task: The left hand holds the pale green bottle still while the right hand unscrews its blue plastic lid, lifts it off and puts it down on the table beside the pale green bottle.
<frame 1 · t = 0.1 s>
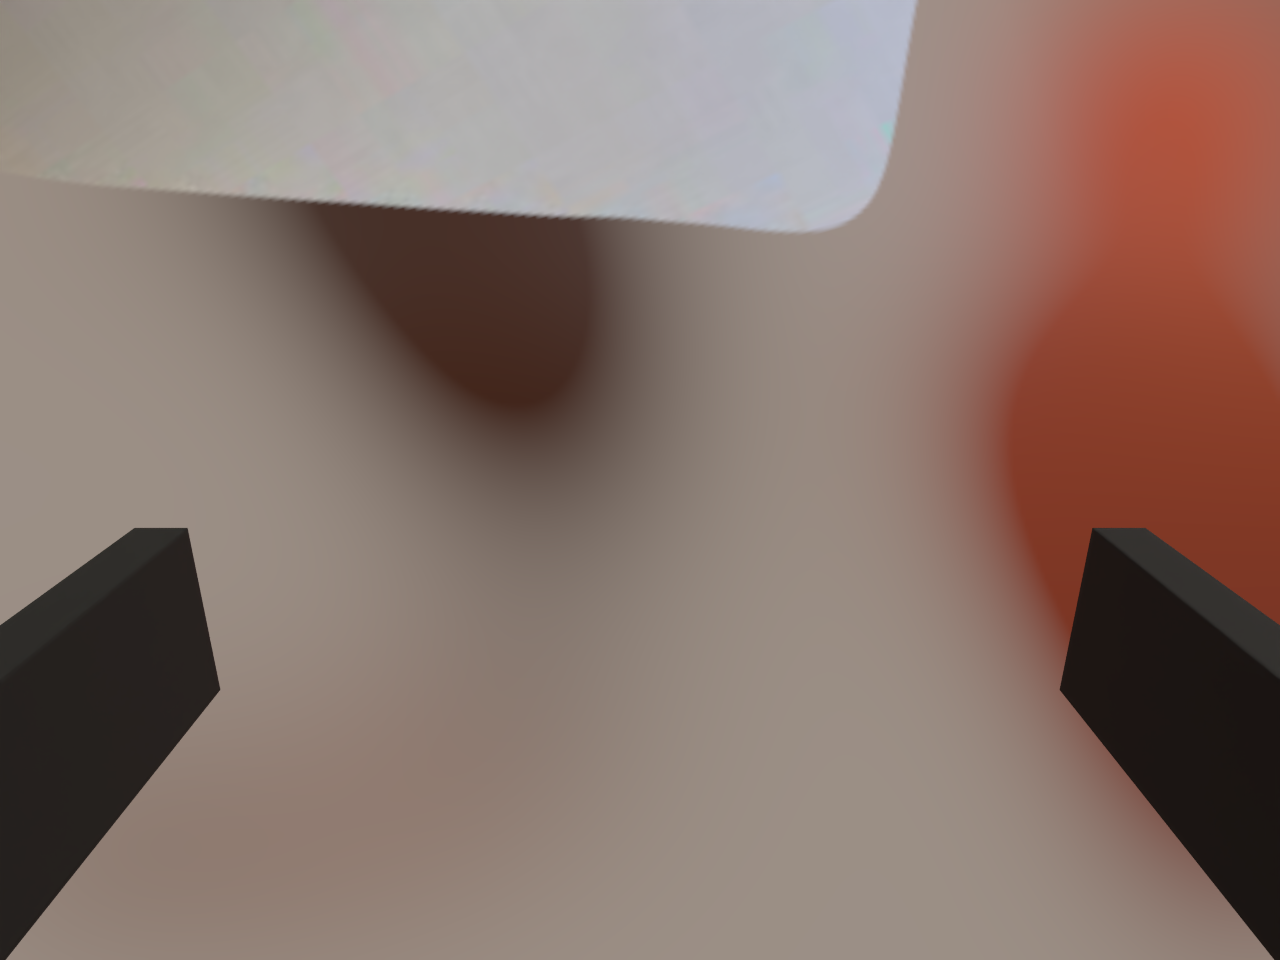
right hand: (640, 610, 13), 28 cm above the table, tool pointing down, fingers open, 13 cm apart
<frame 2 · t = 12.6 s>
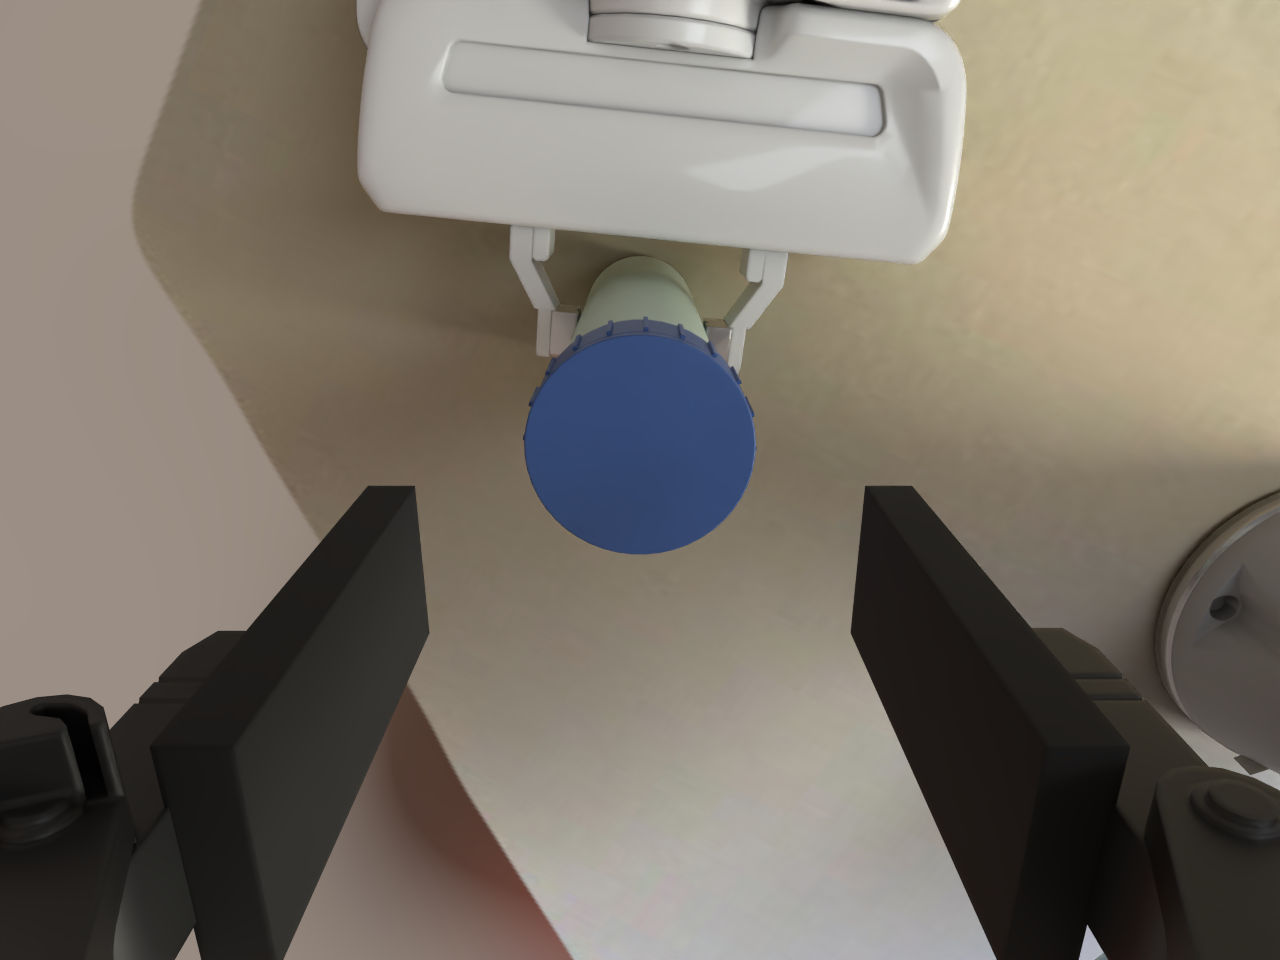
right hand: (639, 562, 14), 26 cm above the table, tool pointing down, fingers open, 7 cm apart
left hand: (638, 363, 32), fingers closed on pale green bottle, 5 cm apart
lid: (640, 445, 20), point 19 cm above the table, screwed on, not yet turned
pale green bottle: (639, 310, 38), on the table, touching left hand
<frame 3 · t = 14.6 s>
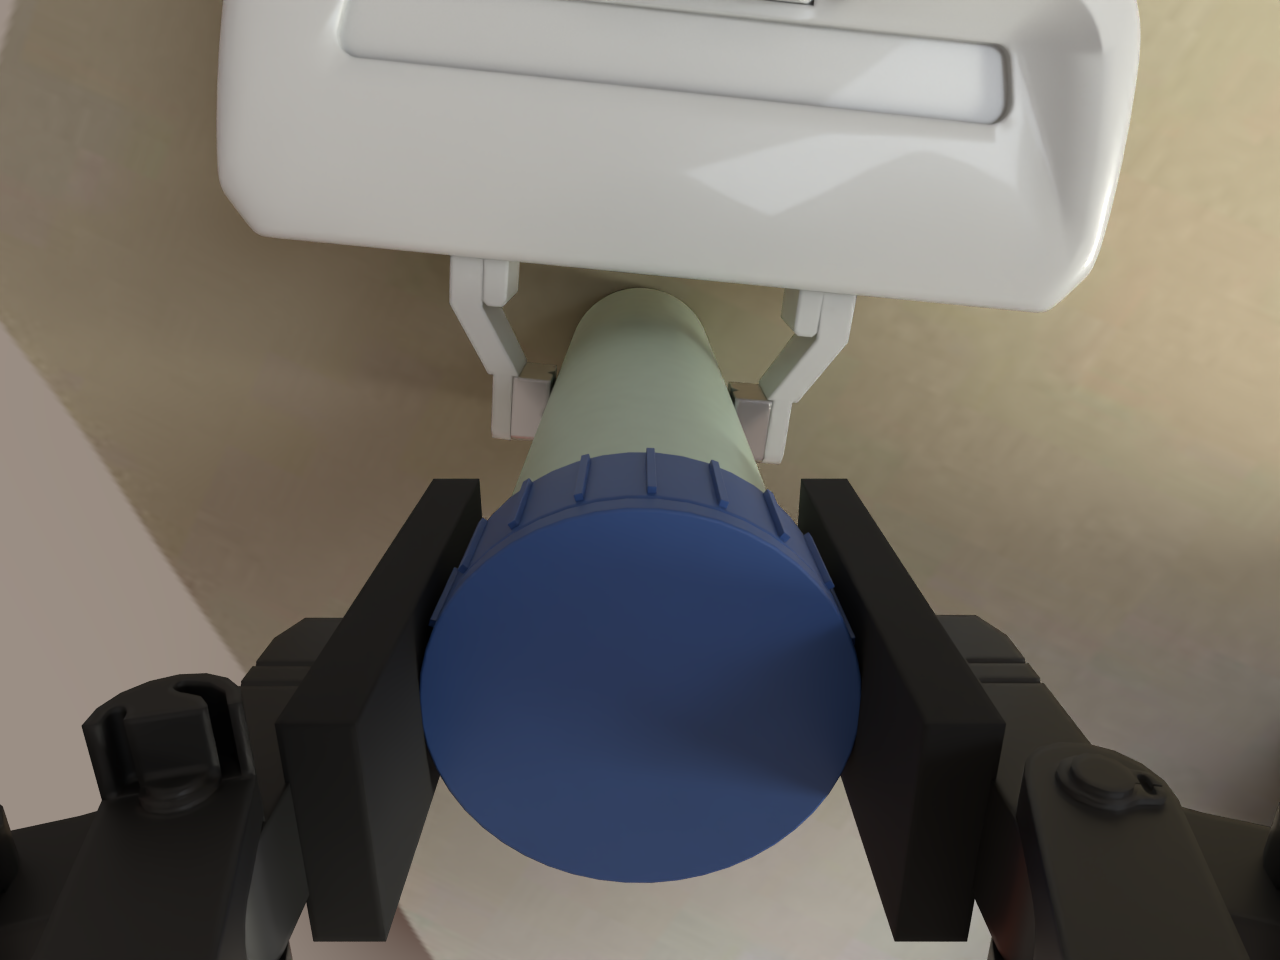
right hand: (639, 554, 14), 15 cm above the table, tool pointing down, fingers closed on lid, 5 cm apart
lid: (640, 696, 11), point 19 cm above the table, screwed on, not yet turned, touching right hand
pale green bottle: (639, 358, 29), on the table, touching left hand
when the right hand's fingers open (16 cm above the table, at t = 16.0 s): lid stays where it is, point 20 cm above the table.
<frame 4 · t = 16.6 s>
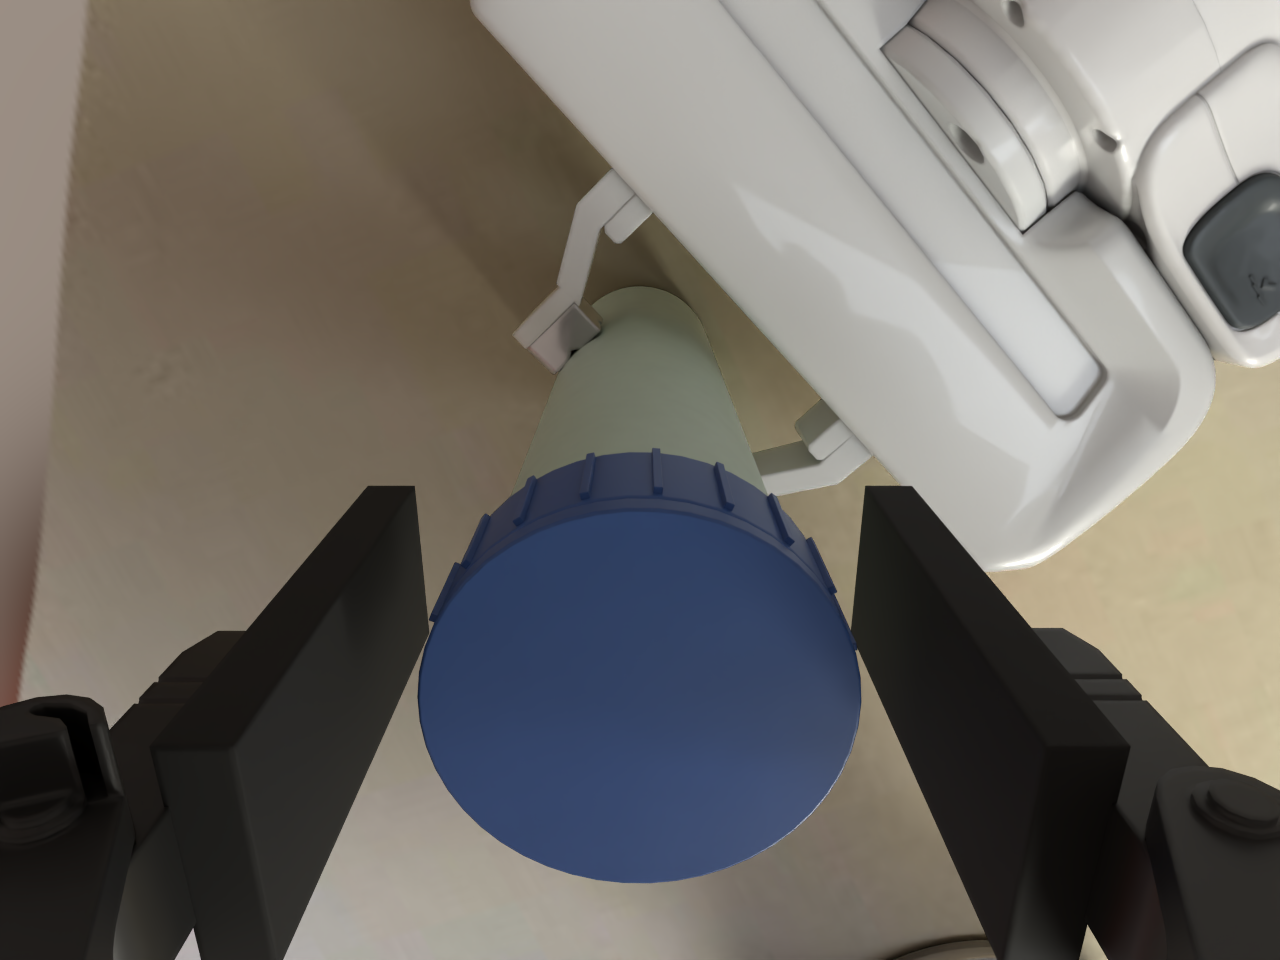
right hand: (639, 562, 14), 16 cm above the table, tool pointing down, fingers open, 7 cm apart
left hand: (616, 433, 23), fingers closed on pale green bottle, 5 cm apart
lid: (639, 696, 11), point 20 cm above the table, turned 93° so far, risen 0.3 cm, still on its thread
pale green bottle: (639, 356, 29), on the table, touching left hand
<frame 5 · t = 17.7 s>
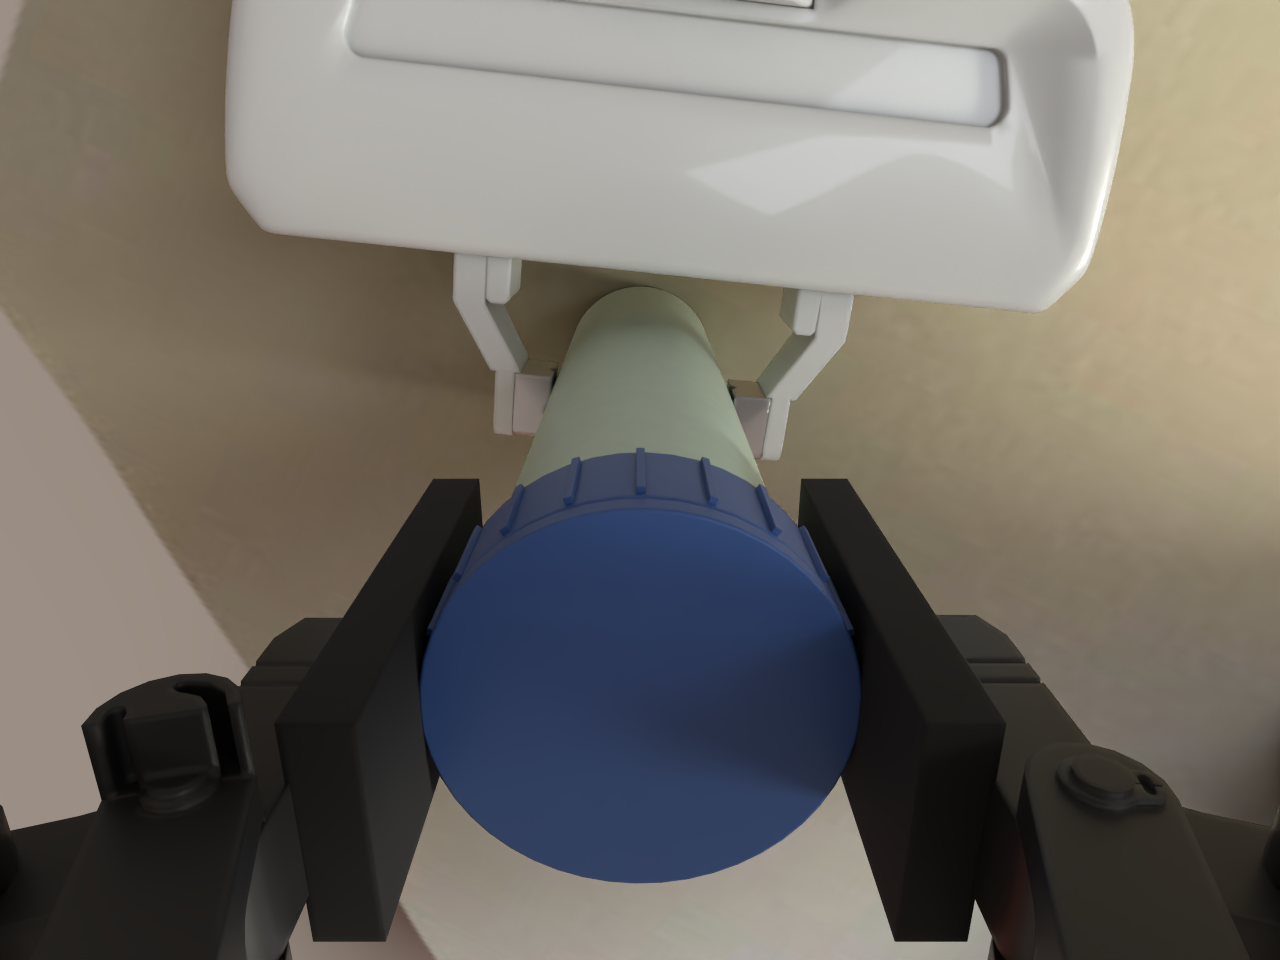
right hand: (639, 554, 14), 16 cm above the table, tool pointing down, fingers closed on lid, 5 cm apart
lid: (640, 696, 11), point 20 cm above the table, turned 93° so far, risen 0.3 cm, still on its thread, touching right hand
pale green bottle: (640, 356, 29), on the table, touching left hand
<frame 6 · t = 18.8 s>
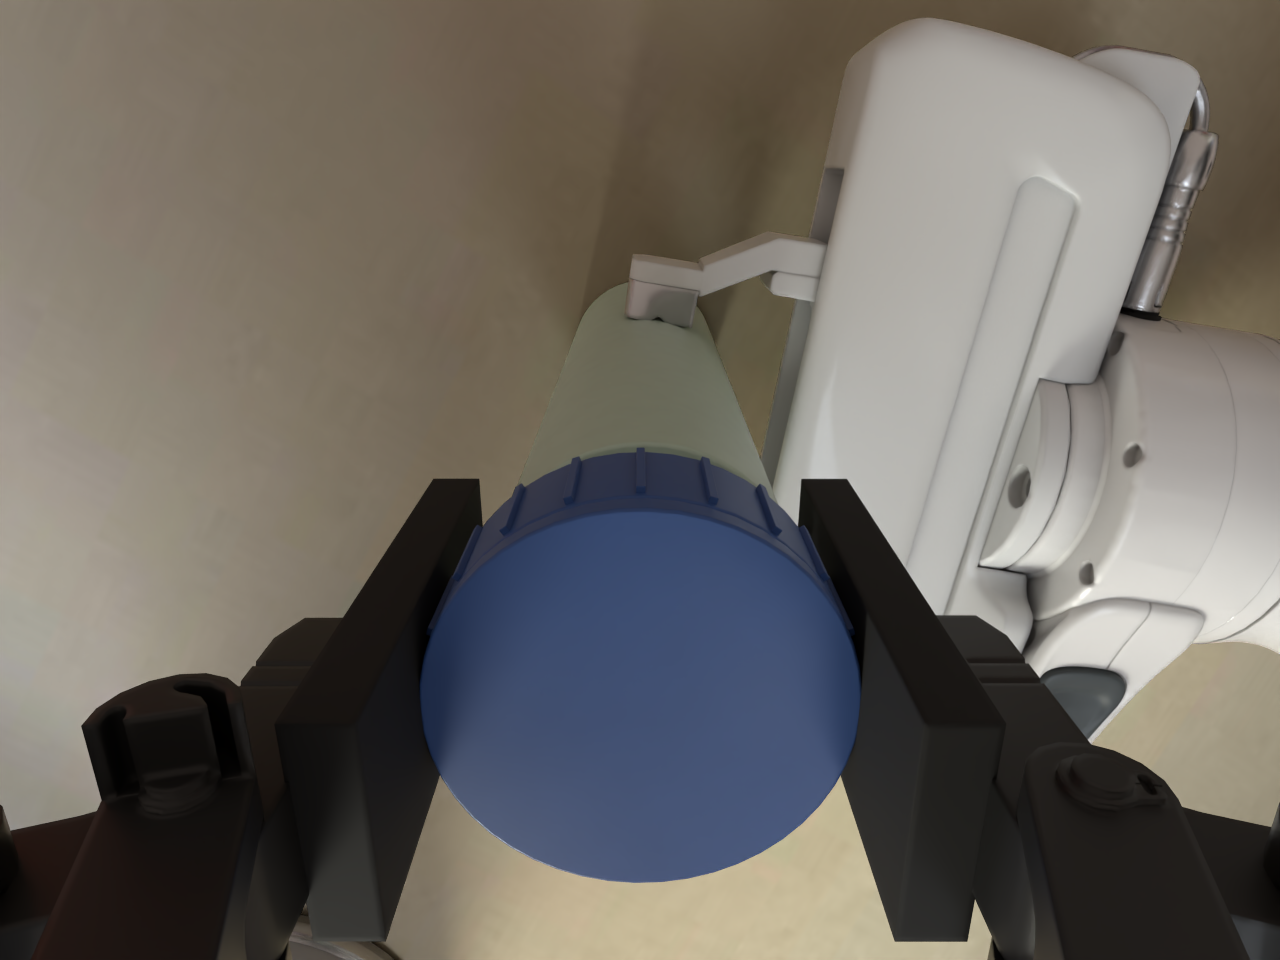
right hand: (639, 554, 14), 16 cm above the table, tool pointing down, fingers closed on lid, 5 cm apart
left hand: (610, 397, 23), fingers closed on pale green bottle, 5 cm apart
lid: (640, 696, 11), point 20 cm above the table, off its thread, touching right hand
pale green bottle: (643, 349, 30), on the table, touching left hand
when the right hand's fingers open (0 cm above the table, at t = 24.6 s): lid drops 2 cm, point 2 cm above the table.
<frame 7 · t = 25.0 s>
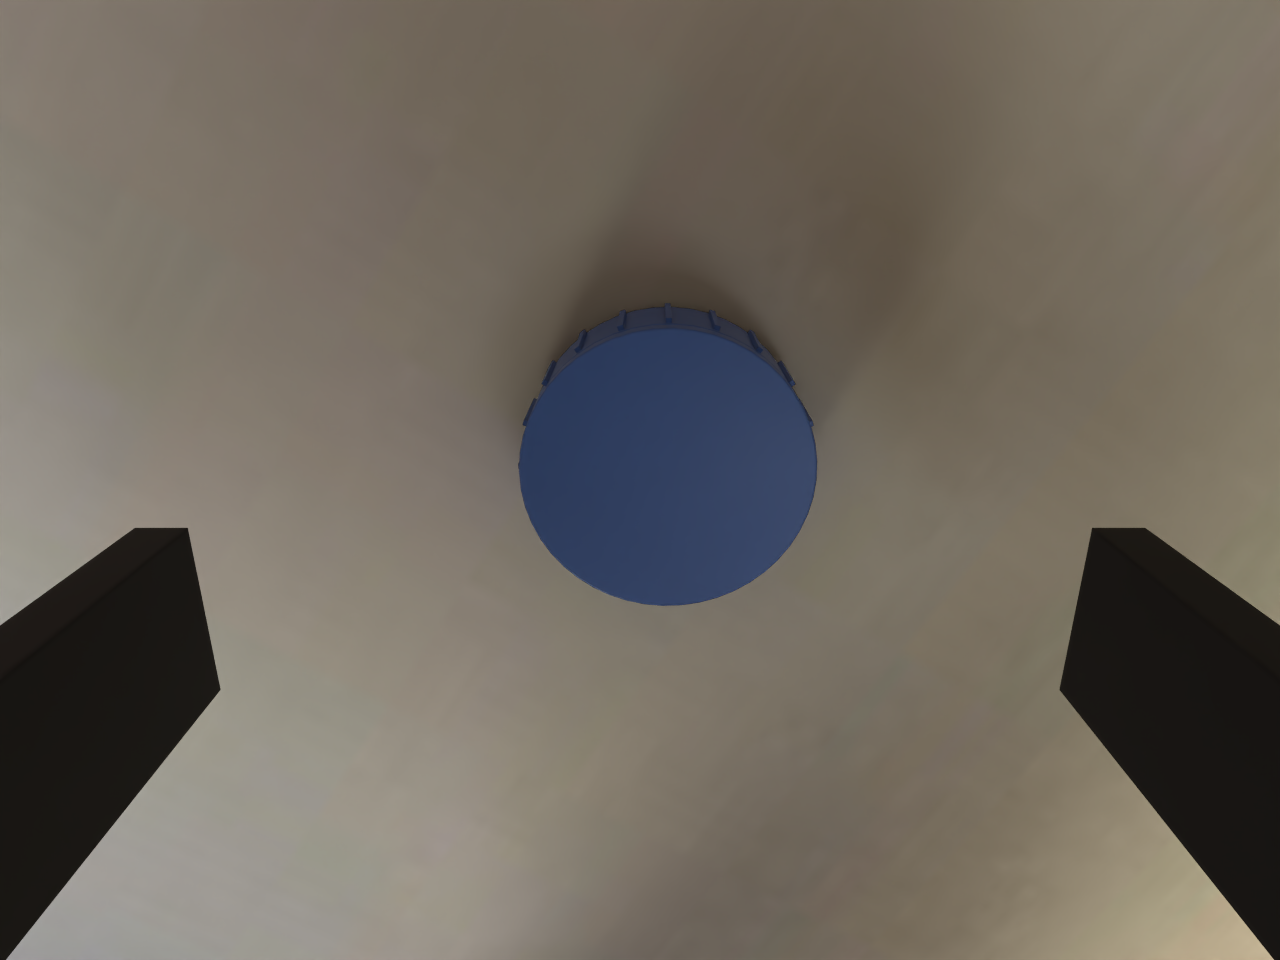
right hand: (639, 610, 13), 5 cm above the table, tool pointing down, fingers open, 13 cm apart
lid: (667, 469, 16), point 2 cm above the table, off its thread
when the left hand's fingers open (7 cm above the table, at t = 25.2 s): pale green bottle stays where it is, on the table.
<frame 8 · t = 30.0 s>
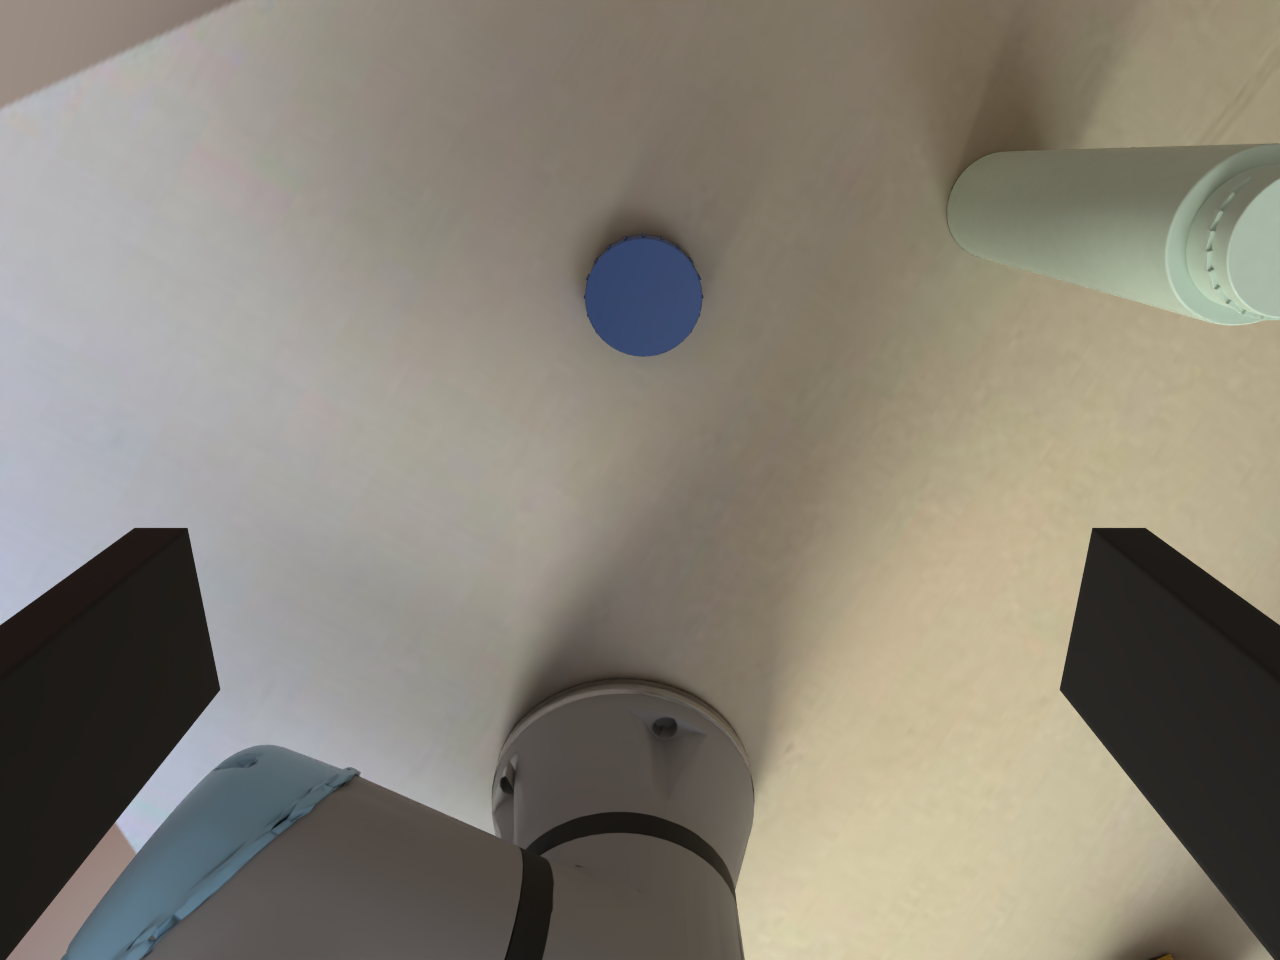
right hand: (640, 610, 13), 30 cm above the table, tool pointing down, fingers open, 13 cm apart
lid: (643, 297, 39), point 2 cm above the table, off its thread
pale green bottle: (998, 206, 39), on the table
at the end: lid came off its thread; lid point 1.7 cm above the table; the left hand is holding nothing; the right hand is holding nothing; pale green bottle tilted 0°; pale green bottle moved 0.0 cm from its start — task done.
